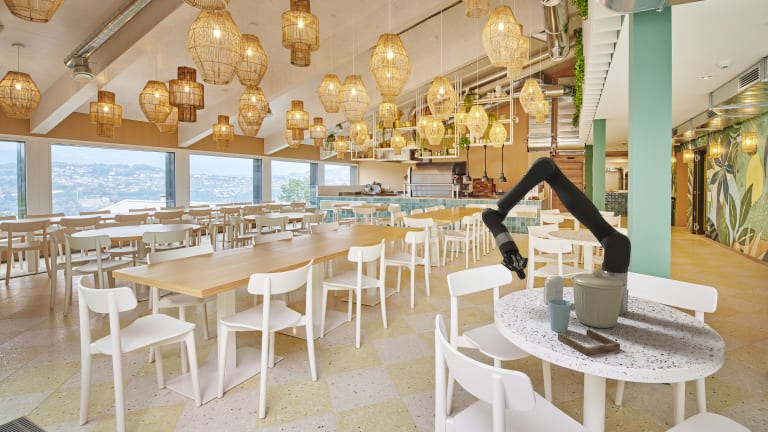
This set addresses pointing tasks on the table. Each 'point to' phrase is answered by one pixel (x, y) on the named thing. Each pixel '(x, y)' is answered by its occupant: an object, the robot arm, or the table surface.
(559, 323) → the cup
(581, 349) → the walnut bay
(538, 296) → the table surface
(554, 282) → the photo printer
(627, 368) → the table surface
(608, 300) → the canister
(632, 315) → the table surface
